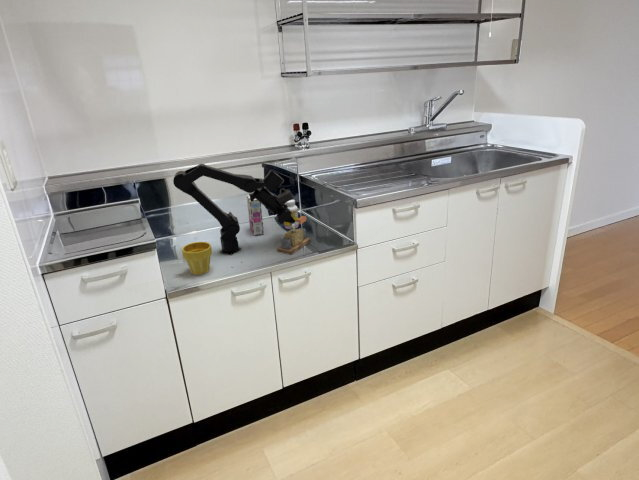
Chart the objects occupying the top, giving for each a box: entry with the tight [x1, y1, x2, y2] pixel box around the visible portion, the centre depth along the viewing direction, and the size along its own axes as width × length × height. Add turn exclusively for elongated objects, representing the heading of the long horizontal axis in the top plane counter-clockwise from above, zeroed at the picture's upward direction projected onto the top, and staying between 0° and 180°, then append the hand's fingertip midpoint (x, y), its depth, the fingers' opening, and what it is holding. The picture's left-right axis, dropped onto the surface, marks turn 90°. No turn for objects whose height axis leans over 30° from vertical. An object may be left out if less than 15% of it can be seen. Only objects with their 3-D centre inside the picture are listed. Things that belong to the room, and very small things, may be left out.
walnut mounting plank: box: [276, 237, 312, 255], centre depth 170 cm, size 15×7×2 cm, turn 150°
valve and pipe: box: [280, 227, 308, 250], centre depth 169 cm, size 14×5×7 cm, turn 150°
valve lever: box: [290, 215, 307, 229], centre depth 170 cm, size 11×3×2 cm, turn 153°
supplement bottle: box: [283, 199, 300, 230], centre depth 190 cm, size 7×7×13 cm
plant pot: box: [181, 241, 213, 276], centre depth 151 cm, size 10×10×10 cm
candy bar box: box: [246, 194, 264, 237], centre depth 186 cm, size 11×5×16 cm, turn 17°
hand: (295, 222), depth 172 cm, fingers closed
